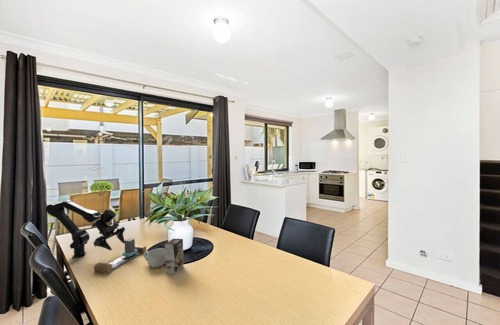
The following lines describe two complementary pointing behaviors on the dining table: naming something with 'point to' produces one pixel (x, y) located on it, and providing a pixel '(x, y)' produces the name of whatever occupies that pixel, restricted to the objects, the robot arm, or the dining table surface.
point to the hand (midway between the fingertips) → (118, 246)
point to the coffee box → (173, 256)
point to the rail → (118, 261)
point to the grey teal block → (129, 247)
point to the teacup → (155, 257)
